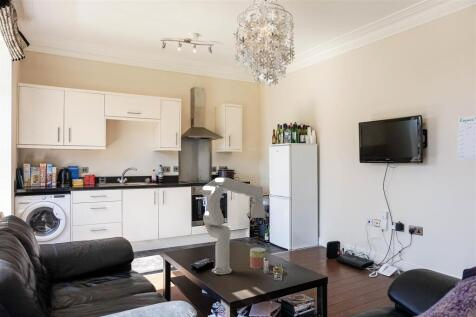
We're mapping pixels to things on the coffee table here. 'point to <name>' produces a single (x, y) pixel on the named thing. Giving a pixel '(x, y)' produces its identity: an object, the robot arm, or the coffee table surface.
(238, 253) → the coffee table surface
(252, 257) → the canned food
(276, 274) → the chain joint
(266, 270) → the pin
